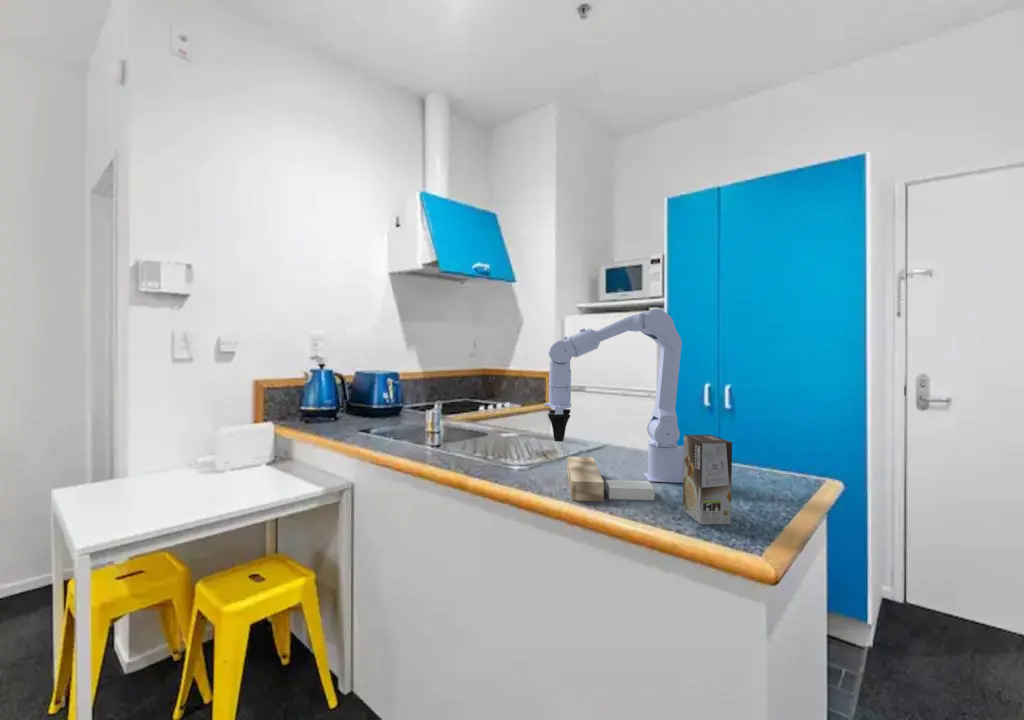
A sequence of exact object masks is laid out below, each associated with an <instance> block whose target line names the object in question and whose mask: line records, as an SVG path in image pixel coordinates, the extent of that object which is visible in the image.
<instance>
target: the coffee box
mask: <svg viewBox="0 0 1024 720" xmlns="http://www.w3.org/2000/svg"><path fill="white" fill-rule="evenodd" d="M683 446H684V467H683V483H682V512H684V513H685V514H687V515H688V516H689V517H690V518H692V519H693V520H695V521H696V522H697V523H699V525H703V526H704V525H710V526H711V525H731V523H732V518H731V516H732V480H733V479H732V477H733V475H732V473H733V472H732V471H733V470H732V469H733V468H732V467H733V442H732V441H729V440H727V439H724V438H722V437H721V438H720V437H718V436H714V435H713V434H684V435H683Z"/></svg>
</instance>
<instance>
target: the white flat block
mask: <svg viewBox="0 0 1024 720" xmlns="http://www.w3.org/2000/svg"><path fill="white" fill-rule="evenodd" d="M655 490H656V489H655V488H654V487H653V485H652V484H651V482H650V481H649V480H627V479H626V480H622V479H621V480H620V479H619V480H618V479H606V480H605V492H606V495H607V497H608V499H609V500H629V501H630V500H631V501H632V500H633V501H635V500H637V501H638V500H639V501H655V495H656V494H655V492H656V491H655Z"/></svg>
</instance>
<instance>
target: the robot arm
mask: <svg viewBox="0 0 1024 720" xmlns="http://www.w3.org/2000/svg"><path fill="white" fill-rule="evenodd" d="M626 332H636V333H637V332H641V333H642V334H643V335H645V336H647V337H649V338H650V339H652V340H653V341H654V342H655V343H656V344H657V345H658V347H660V352H659V353H660V354H659V363H658V374H657V383H656V393H655V395H656V396H655V404H654V408H653V409H652V410H653V411H652V413H651V419H650V420H649V422H648V424H647V427H646V431H647V434H648V436H649V437H650V440H649V441H648V445H647V446H648V451H647V452H648V453H647V472H644V473H643V476H645V478H646V479H647V481H649V483H676V484H677V483H678V484H679V483H681V484H683V467H684V445H678V443H677V442H678V441H679V439H680V437H681V436H680V435H681V433H680V429H679V426H678V415H677V412H676V405H677V395H678V385H679V384H678V383H679V375H680V363H681V353H682V339H681V336H680V334H679V333H678V330H677V328H676V326H675V324H674V320H673V317H671V315H669V314H668V313H667V312H666V311H664V310H662V309H661V308H653V309H651V310H649V311H644V312H640V313H639V312H638V313H636V314H635V313H634V314H632V315H629V316H626V317H624V318H621V319H619V320H618V321H615V322H613V323H611V324H609V325H607V326H604V327H602V328H600V329H598V330H594V329H591V328H587V329H585V328H584V327H583V328H581V329H579V332H577V333H575V334H573V335H570V336H564V337H563V338H562V340H557V341H556V342H554V343H553V344H552V345H551V346H550V347H549V351H548V356H549V358H550V362H549V367H550V368H549V371H548V375H549V376H548V383H549V384H548V402H545V403H544V407H548V408H550V410H549V413H548V414H547V417H548V419H549V421H550V425H551V428H552V433H553V438H554V441H555V442H564V440H565V436H566V435H565V434H566V428H567V424H568V422H569V420H570V417H571V409H570V408H572V403H571V402H572V400H571V399H572V397H571V395H572V370H571V359H572V358H578V357H581V356H583V355H585V354H588V353H590V352H592V351H595V350H597V349H599V346H600V343H602V342H603V341H605V340H608V339H611V338H613V337H616V336H619V335H622V334H623V333H626Z"/></svg>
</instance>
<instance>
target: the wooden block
mask: <svg viewBox="0 0 1024 720" xmlns="http://www.w3.org/2000/svg"><path fill="white" fill-rule="evenodd" d="M566 460H567V463H566V464H567V465H566V466H567V469H566V473H567V481H568V485H569V493H570V497H571V501H576V502H580V501H581V502H602V503H603V502H605V501H604V500H605V499H604V498H605V497H604V495H605V494H604V493H605V491H604V490H605V487H604V486H605V481H604V480H603V477H602V475H601V472H600V469H599V468H598V466H597V463H596V461H595V457H591V456H589V457H588V456H586V457H585V456H567V459H566Z"/></svg>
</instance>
